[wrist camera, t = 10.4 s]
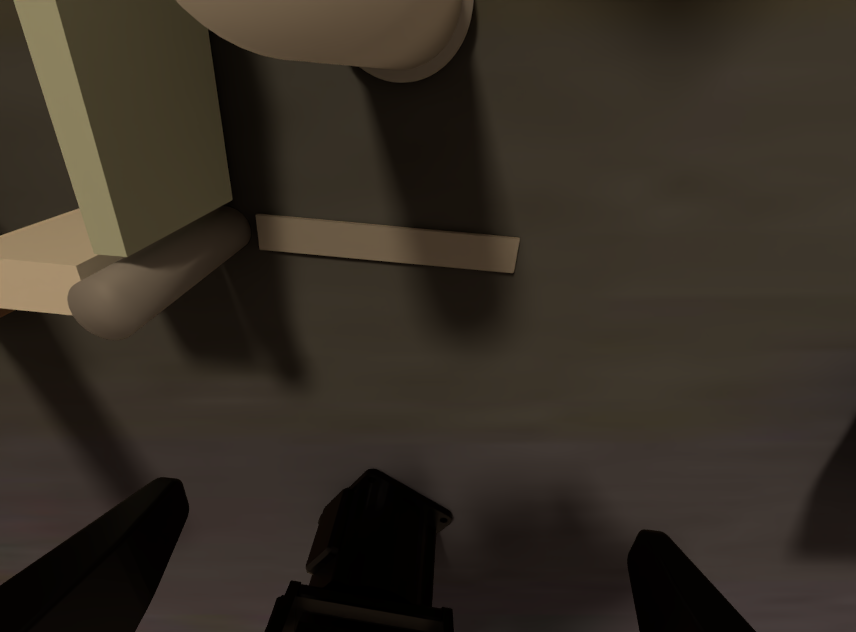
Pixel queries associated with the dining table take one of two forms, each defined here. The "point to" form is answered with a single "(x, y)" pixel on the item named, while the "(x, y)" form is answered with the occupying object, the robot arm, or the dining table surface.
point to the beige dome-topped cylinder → (344, 31)
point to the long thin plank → (202, 261)
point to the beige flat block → (131, 114)
